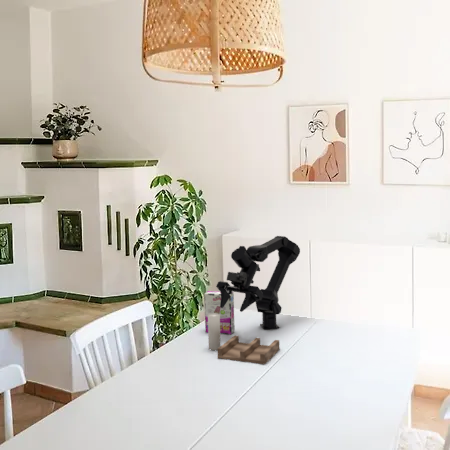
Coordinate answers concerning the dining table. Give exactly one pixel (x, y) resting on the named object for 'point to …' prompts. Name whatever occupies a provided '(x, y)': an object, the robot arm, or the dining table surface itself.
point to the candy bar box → (220, 311)
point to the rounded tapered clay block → (214, 331)
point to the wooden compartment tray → (248, 350)
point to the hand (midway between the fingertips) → (230, 309)
